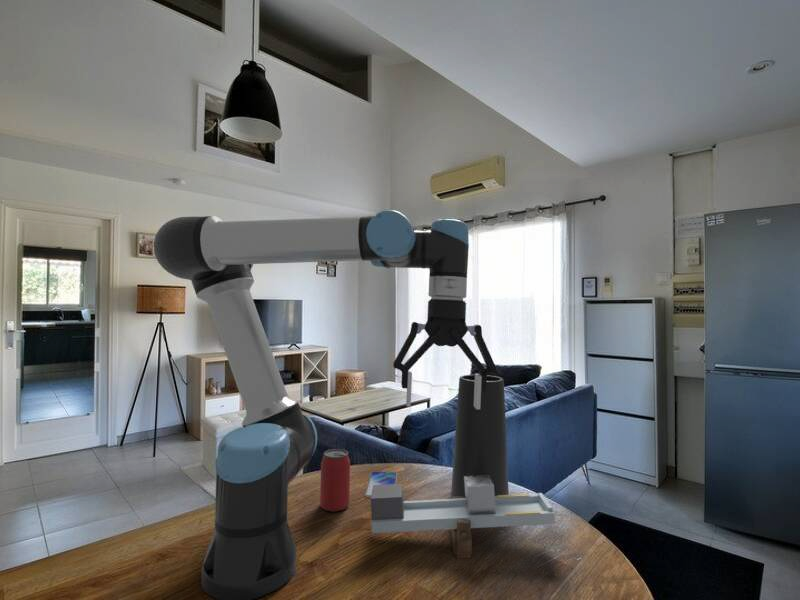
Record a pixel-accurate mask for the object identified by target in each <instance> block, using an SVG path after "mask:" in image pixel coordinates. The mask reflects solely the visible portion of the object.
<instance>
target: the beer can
mask: <svg viewBox="0 0 800 600" xmlns="http://www.w3.org/2000/svg"><path fill="white" fill-rule="evenodd" d="M350 480H351V459H350V457H349V451H347V450H346V449H341V448H333V449H328V450H325V452H323V456H322V459H321V462H320V490H319V493H320V494H319V500H320V501H319V505H320V507H321V508H322V509H323V510H325V511H327V512H332V513H334V512H341V511H343V510H345V509H347V507H348V506H349V504H350V493H351V491H350V485H351V481H350Z"/></svg>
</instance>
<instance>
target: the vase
mask: <svg viewBox="0 0 800 600" xmlns="http://www.w3.org/2000/svg"><path fill="white" fill-rule="evenodd" d="M474 384H475V374H466V375H465V374H464V375H461V376H459V379H458V391H457V406H456V421H455V432H454V433H455V434H454V435H455V436H454V444H453V445H454V449H453V459H452V460H453V461H452V462H453V463H452V477H451V490H450V495H451V496H450V497H451V498H450V499H452V496H462V497H464V498H465V484H464V476H479V475H489V476H490V478H491V481H492V483H493V485H494V494H495V496H497V495H510V494H509V492H510V491H509V490H510V488H509V468H508V464H509V463H508V447H507V446H508V443H507V425H506V424H507V422H506V401H505V399H506V398H505V380H504V378H503V377H500V376H496V375H489V374H488V375H487V381H486V391H485V392H483V391H481V404H480V409H476V408H475V407H474Z"/></svg>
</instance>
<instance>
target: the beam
mask: <svg viewBox="0 0 800 600" xmlns="http://www.w3.org/2000/svg"><path fill="white" fill-rule="evenodd" d="M404 498H405V497H404V485H403V483H396V484H385V485H373V489H372V493H371V498H369V499H370V513H371V514H370V515H371V522H370V524H371V534H383V533H384V534H385V533H402V532H403V533H404V532H405V533H406V532H422V531H423V532H424V531H440V530H442V531H445V530H450V529H457V520H470V522H471V529H478V528H479V529H480V528H481V529H482V528H501V527H504V528H505V527H519V526H523V527H525V526H538V525H539V526H541V525H555V524H556V521H555V520H556V519H555V512H554V509H553V506H552V504H550V502H549V501H548V499H547V498H546V497H545V495H544V494H543V493H542V492H538V493H535V494H529V493H520V494H519V493H518V494H517V493H516V494H509V495H497V496H495V509H496V514H483V515H468V512H467V508H466V499H465V498H457V499H452V498H443V499H442V498H441V499H422V500H421V499H419V500H404Z"/></svg>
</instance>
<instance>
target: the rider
mask: <svg viewBox="0 0 800 600" xmlns="http://www.w3.org/2000/svg"><path fill="white" fill-rule="evenodd" d="M464 484H465V499H466V508H467V512H468V515H483V514H496V509H495V494H494V485H493V483H492V481H491V478H490V476H489V475H479V476H464Z"/></svg>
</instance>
